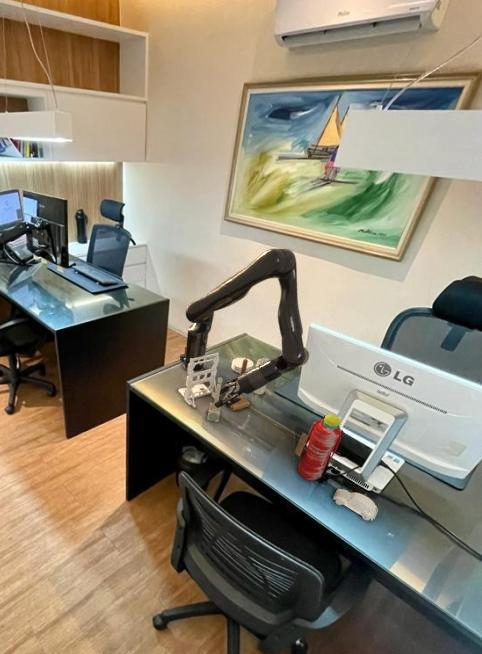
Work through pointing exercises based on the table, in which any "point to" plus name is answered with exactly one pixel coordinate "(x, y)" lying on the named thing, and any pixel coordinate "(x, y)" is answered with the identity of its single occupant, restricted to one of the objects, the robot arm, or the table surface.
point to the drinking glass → (262, 389)
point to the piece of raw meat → (318, 447)
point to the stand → (243, 401)
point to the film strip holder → (196, 390)
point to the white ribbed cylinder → (238, 365)
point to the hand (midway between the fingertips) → (217, 399)
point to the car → (357, 503)
